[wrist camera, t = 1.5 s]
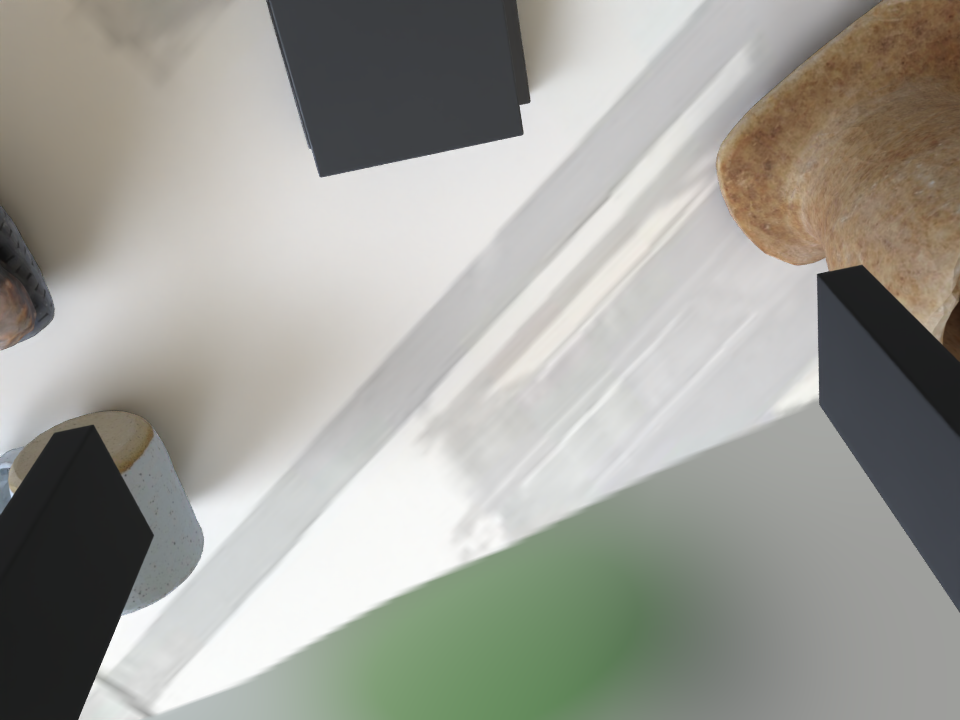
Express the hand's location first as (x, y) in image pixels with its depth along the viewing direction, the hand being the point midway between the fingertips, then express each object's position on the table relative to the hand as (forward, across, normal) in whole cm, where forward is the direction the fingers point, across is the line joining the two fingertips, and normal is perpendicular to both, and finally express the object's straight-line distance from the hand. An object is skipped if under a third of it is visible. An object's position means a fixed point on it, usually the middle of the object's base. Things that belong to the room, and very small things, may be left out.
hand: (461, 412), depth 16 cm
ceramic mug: (+25, -23, -16) cm, 38 cm away
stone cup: (+28, +19, -7) cm, 35 cm away
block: (+17, -1, +5) cm, 18 cm away
